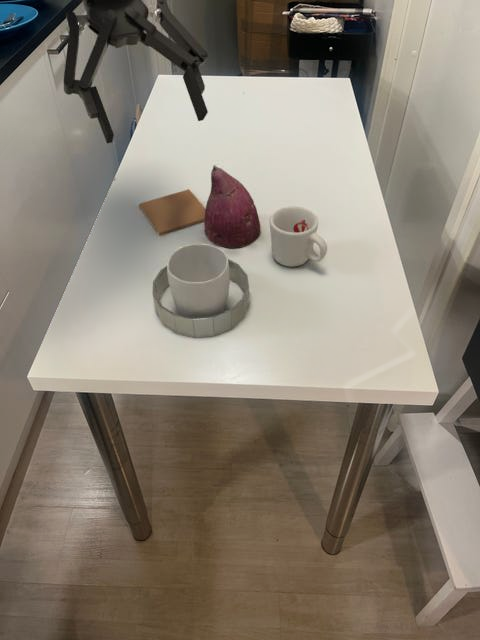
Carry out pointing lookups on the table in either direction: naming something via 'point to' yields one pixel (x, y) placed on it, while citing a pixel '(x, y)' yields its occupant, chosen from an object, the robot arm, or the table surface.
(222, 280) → the mug
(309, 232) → the cup
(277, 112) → the table surface
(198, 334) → the ring
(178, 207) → the mat
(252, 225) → the vegetable
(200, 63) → the robot arm
